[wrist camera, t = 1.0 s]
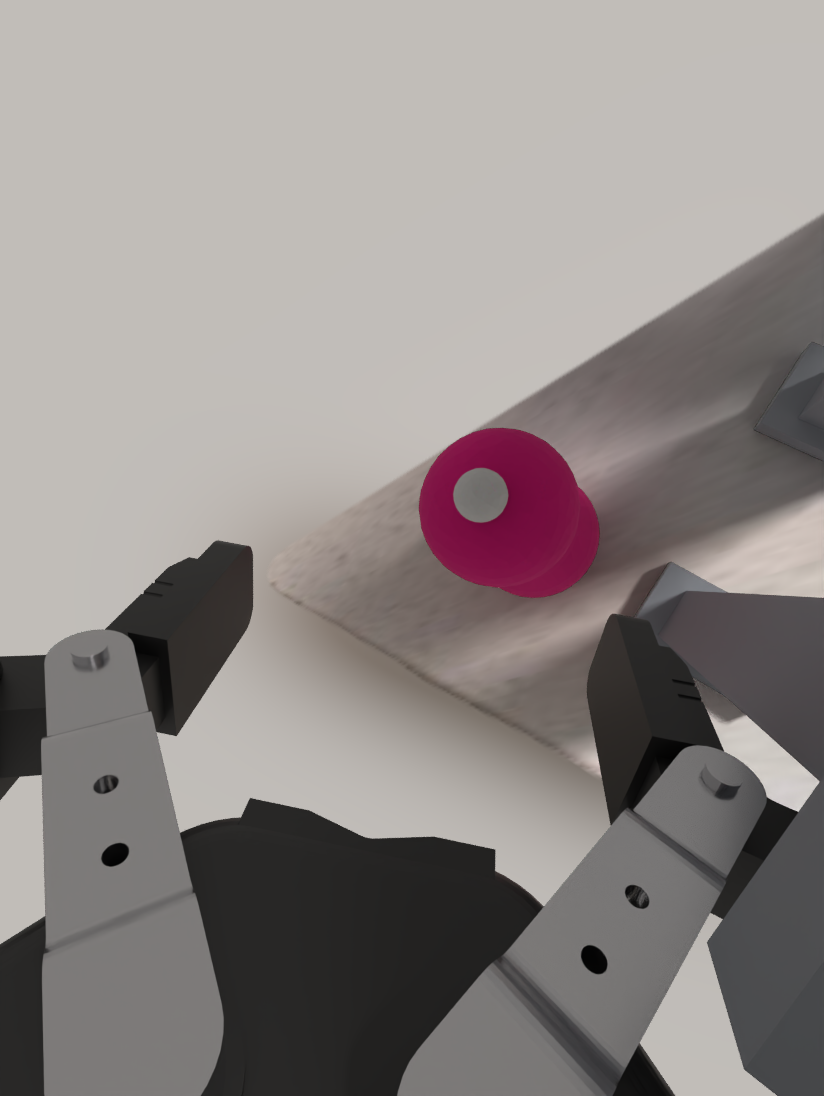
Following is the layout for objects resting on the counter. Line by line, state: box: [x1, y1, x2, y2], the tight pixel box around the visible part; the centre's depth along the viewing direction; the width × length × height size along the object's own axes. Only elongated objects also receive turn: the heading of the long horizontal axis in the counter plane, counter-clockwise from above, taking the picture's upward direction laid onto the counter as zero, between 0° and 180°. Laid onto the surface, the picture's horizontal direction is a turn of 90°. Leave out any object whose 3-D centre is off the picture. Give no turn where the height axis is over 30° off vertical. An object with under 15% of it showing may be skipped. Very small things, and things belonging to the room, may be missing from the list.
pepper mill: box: [419, 428, 600, 598], centre depth 28 cm, size 7×7×20 cm
